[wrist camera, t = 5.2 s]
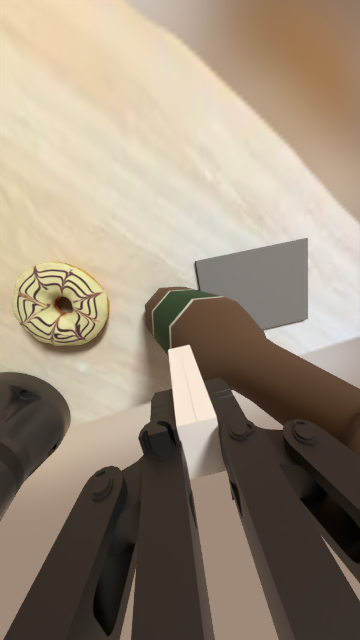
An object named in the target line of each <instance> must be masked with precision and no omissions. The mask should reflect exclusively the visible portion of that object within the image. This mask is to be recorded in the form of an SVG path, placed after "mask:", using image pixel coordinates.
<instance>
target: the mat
mask: <svg viewBox="0 0 360 640" xmlns="http://www.w3.org/2000/svg"><path fill="white" fill-rule="evenodd" d="M195 263H196V269H197V275H198V281H199V287H200V291H203V292H207V293H211V294H215V295H219V296H223V297H226V298H229V299H231V300H234V301H236V302H238V303H239V304H240V305H241V306H242V307H243V308H244V309H245V310H246V311H247V312H248V314H249V315H250V316H251V317H252V318H253V319H254V321H255V322H256V323H257V324H258V325H259V326H260V328H261V329H262V330H263V329H267V328H271V327H276V326H280V325H284V324H289V323H293V322H297V321H301V320H306V319H308V238H305V239H300V240H296V241H291V242H286V243H281V244H276V245H272V246H267V247H262V248H257V249H252V250H247V251H243V252H238V253H233V254H228V255H223V256H219V257H214V258H209V259H204V260H199V261H195Z"/></svg>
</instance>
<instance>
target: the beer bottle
mask: <svg viewBox="0 0 360 640" xmlns="http://www.w3.org/2000/svg"><path fill="white" fill-rule="evenodd" d="M145 311H146V325H147V328H148V330H149V331H150V332H151V334H152V335H153V336H154V338H155V339H156V340H157V342H158V343H159V344H160V345H161V347H162V348H163V349H164V351H165V352H166V353H167V355H168V356H169V354H168V349H173V348H177V347H182V346H186V345H190V347H191V350H192V353H193V355H194V358H195V361H196V363H197V366H198V369H199V371H200V374H201V377H202V379H203V381H206V380H210V379H215V378H221V379H222V380H224V381H225V382H226V383H227V385H228V386H229V388H230V390H234V391H236V392H238V393H240V394H241V395H243V396H244V397H246V398H248V399H249V400H251V401H252V402H254V403H255V404H256V405H257V406H259V407H260V408H261V409H262V410H264V411H265V412H266V413H268V414H269V415H270V416H271V417H273V418H274V419H275V420H276V421H278V422H279V423H280V424H282V425H283V426H284V425H285V424H286V423H287V422H288V421H291V420H294V419H299V420H306V421H309V422H312V423H314V424H316V425H317V426H319V427H321V428H322V429H323V430H325V431H326V432H327V433H329V434H330V435H331V436H333V437H334V438H336V439H337V440H338V441H340V442H341V443H342V444H344V445H345V446H346V447H348V448H349V449H351V450H352V451H353V452H355V453H356V454H357V455H359V456H360V389H359V388H357V387H354V386H353V385H351V384H349V383H347V382H345V381H344V380H342V379H340V378H338V377H336V376H334V375H332V374H330V373H329V372H327V371H325V370H323V369H321V368H319V367H317V366H315V365H313V364H312V363H310V362H308V361H306V360H304V359H302V358H300V357H298V356H296V355H295V354H293V353H291V352H289V351H287V350H285V349H283V348H281V347H280V346H278V345H276V344H274V343H273V342H271V341H270V340H268V339H267V338H266V336H265V333H264V331H263V330H262V329H261V328H260V326H259V325H258V324H257V323H256V322H255V321H254V319H253V318H252V317H251V316H250V315H249V314H248V312H247V311H246V310H245V309H244V308H243V307H242V306H241V305H240V304H239V303H238V302H236V301H234V300H231V299H229V298H226V297H223V296H219V295H215V294H211V293H207V292H203V291H199V290H194V289H190V288H186V287H169V288H159V289H158V290H157V292H156V293H155V294H154V295H153V296H152V297H151V299H150V300H149V301H148V302H147V303H146V304H145Z"/></svg>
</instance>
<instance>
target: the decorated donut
mask: <svg viewBox="0 0 360 640" xmlns="http://www.w3.org/2000/svg"><path fill="white" fill-rule="evenodd" d="M61 297H65V298H68V299H69V300H70V301H71V303H72V307H73V312H72V313H65V312H63V311H61V310H60V309H59V308H58V306H57V301H58V300H59V299H60V298H61ZM12 305H13V312H14V315H15V317H16V318H17V320H18V321H19V323H20V325H21V326H22V327H23V328H24V329H25V330H26V331H27V332H29V333H30V334H31V335H32V336H34V337H35V338H36V339H37V340H38V341H40V342H44V343H50V344H52V345H54V346H64V345H68V346H71V345H81V344H85V343H87V342H89V341H90V340H92V339H93V338H95V337H96V336H97V334H98V333H99V332H100V331H101V329H102V328H103V326H104V324H105V323H106V321H107V319H108V315H109V300H108V296H107V293H106V292H105V291H104V289H103V288H102V287H101V286H100V284H99V283H98V282H97V281H96V280H95V279H94V278H93V277H92V276H90V275H89V274H88V273H87V272H85V271H83V270H82V269H80V268H77V267H74V266H72V265H70V264H67V263H61V262H46V263H42V264H40V265H37V266H33V267H31V268H30V269H28V270H26V271H24V272H23V274H21V276H20V278H19V279H18V281H17V282H16V285H15V290H14V297H13V304H12Z"/></svg>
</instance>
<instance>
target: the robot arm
mask: <svg viewBox="0 0 360 640" xmlns="http://www.w3.org/2000/svg"><path fill="white" fill-rule="evenodd" d="M168 354H169V363H170V372H171V381H172V389H170V390H166V391H162V392H157V393H155V395H154V397H153V398H152V400H151V418H150V422H149V423H148V424H146V425H145V426H144V428H143V429H142V430H141V432H140V434H139V437H138V438H139V441H140V444H141V447H142V450H143V453H144V455H143V456H142V457H141V458H140V459H139V460H138V461H137V462H136V463H134V464H132V465H131V466H129V467H127V468H126V469H124V470H122V471H121V470H120V469H119V468H118V467H114V466H109V467H104V468H102V469H101V470H99V471H97V472H96V473H95V474H94V475H93V476H92V477H90V478H89V480H88V481H87V483H86V484H85V486H84V487H83V489H82V491H81V493H80V495H79V497H78V499H77V501H76V503H75V505H74V506H73V508H72V510H71V512H70V514H69V516H68V518H67V520H66V522H65V524H64V526H63V527H62V529H61V531H60V533H59V535H58V537H57V539H56V541H55V543H54V544H53V547H52V548H51V550H50V552H49V554H48V556H47V558H46V560H45V562H44V563H43V565H42V568H41V569H40V572H39V573H38V575H37V577H36V579H35V581H34V583H33V584H32V586H31V588H30V590H29V592H28V594H27V596H26V598H25V600H24V602H23V603H22V605H21V607H20V609H19V611H18V613H17V615H16V617H15V619H14V621H13V623H12V624H11V626H10V628H9V630H8V632H7V634H6V636H5V638H4V640H119V639H120V635H121V631H122V626H123V622H124V617H125V613H126V608H127V604H128V599H129V595H130V591H131V586H132V582H133V577H134V573H135V569H136V578H135V592H134V606H133V621H132V635H131V640H215V638H214V633H213V625H212V619H211V612H210V605H209V598H208V592H207V585H206V578H205V572H204V565H203V559H202V552H201V545H200V540H199V532H198V526H197V519H196V512H195V505H194V499H193V494H192V490H191V485H190V480H191V479H195V478H198V477H202V476H206V475H210V474H214V473H218V472H222V471H226V470H227V473H228V476H229V482H230V488H231V494H232V499H233V500H235V503H236V506H237V509H238V512H239V516H240V519H241V522H242V525H243V528H244V531H245V534H246V538H247V540H248V544H249V547H250V550H251V553H252V556H253V559H254V562H255V566H256V569H257V572H258V575H259V578H260V581H261V585H262V588H263V591H264V594H265V597H266V600H267V603H268V607H269V610H270V613H271V616H272V619H273V623H274V626H275V629H276V632H277V635H278V638H279V640H360V601H359V599H358V598H357V596H356V594H355V593H354V591H353V589H352V588H351V586H350V584H349V582H348V581H347V579H346V577H345V576H344V574H343V572H342V571H341V569H340V567H339V565H338V564H337V562H336V561H335V559H334V557H333V555H332V554H331V552H330V550H329V549H328V547H327V545H326V544H325V542H324V540H323V538H324V539H325V541H326V542H327V543H328V544H329V545H330V547H331V548H332V549H333V551H334V552H335V553H336V554H337V555H338V557H339V558H340V559H341V560H342V561H343V563H344V564H345V565H346V566H347V568H348V569H349V570H350V572H351V573H352V574H353V575H354V576H355V578H356V579H357V580H358V581H359V583H360V456H359V455H357V454H356V453H355V452H353V451H352V450H351V449H349V448H348V447H346V446H345V445H344V444H342V443H341V442H340V441H338V440H337V439H336V438H334V437H333V436H331V435H330V434H329V433H327V432H326V431H325V430H323V429H322V428H321V427H319V426H317V425H316V424H314V423H312V422H309V421H306V420H299V419H294V420H291V421H288V422H287V423H286V424H285V425H284V427H283V430H270V429H263V428H260V427H257V426H255V425H254V424H253V423H252V422H251V421H249V420H247V418H246V417H245V415H244V413H243V411H242V410H241V408H240V406H239V404H238V402H237V401H236V399H235V397H234V396H233V394H232V392H231V390H230V388H229V386H228V385H227V383H226V382H225V381H224V380H222V379H221V378H215V379H210V380H206V381H203V379H202V377H201V374H200V371H199V369H198V366H197V363H196V361H195V358H194V355H193V353H192V350H191V347H190V345H186V346H182V347H177V348H173V349H168ZM69 424H70V412H69V408H68V405H67V403H66V401H65V399H64V398H63V396H62V395H61V394H60V393H59V392H58V391H57V390H56V389H55V388H54V387H53V386H51V385H50V384H48V383H47V382H45V381H43V380H41V379H39V378H37V377H34V376H31V375H27V374H22V373H15V372H4V373H0V521H1V519H2V517H3V516H4V514H5V512H6V510H7V509H8V507H9V505H10V503H11V502H12V500H13V498H14V497H15V495H16V493H17V492H18V490H19V489H20V487H21V485H22V484H23V482H24V481H25V480H26V479H27V478H28V477H29V476H30V475H31V474H32V473H33V472H34V471H35V470H36V469H37V468H38V467H39V466H40V465H41V464H42V463H43V462H44V461H45V460H46V459H47V458H48V457H49V456H50V455H51V454H52V453H53V452H54V451H55V450H56V449H57V448H58V446H59V445H60V443H61V441H62V440H63V438H64V436H65V434H66V432H67V430H68V428H69ZM225 467H226V468H225ZM320 534H321V535H320ZM321 536H322V537H323V538H322V537H321Z"/></svg>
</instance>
